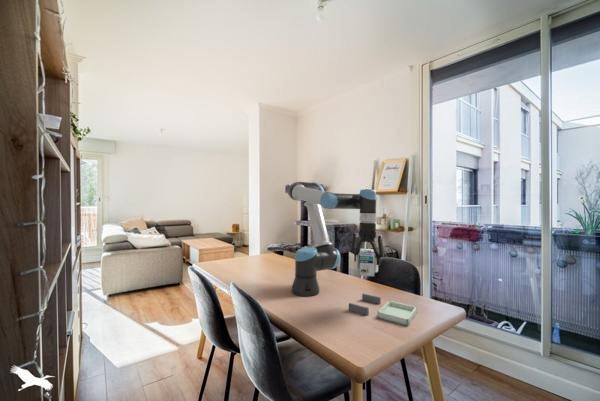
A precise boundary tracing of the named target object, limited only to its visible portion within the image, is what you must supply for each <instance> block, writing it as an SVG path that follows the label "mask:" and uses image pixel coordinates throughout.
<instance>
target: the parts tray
mask: <svg viewBox="0 0 600 401" xmlns="http://www.w3.org/2000/svg"><path fill="white" fill-rule="evenodd" d="M417 314H418V306H414V305H410V304H406V303H403V302H402V303H401V302H397V301H392V300H388V301H387V302H386V303H385V304H384V305H382V307H381V308H380V309H378V311H377V316H376V318H377V319H381V320H384V321H388V322H392V323H396V324H398V325H399V324H400V325H404V326H407V327H409V326H410V324H411V322H413V319H414V318H415V317H416V315H417Z"/></svg>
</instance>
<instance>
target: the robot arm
mask: <svg viewBox="0 0 600 401" xmlns="http://www.w3.org/2000/svg"><path fill="white" fill-rule="evenodd" d="M287 194H288V197H289V198H290V199H292V201H293V200H294V201H297V202H303V206H304V207H306V209H307V213H308V217H309V222H310V227H311V232H312V237H313V241H314V244H315V245H314V246H313V247H312V246H311V247H301V248H299V249H297V250H296V251H295V257H294V259H295V263H294V264H295V268H294V276H295V277H294V279H293V282H292V285H291V293H292V294H293V295H296V296H300V297H312V296H313V297H314V296H317V295H319V294H320V285H319V282H318V279H317V272H320V271H325V270H326V271H327V270H332V269H336V268H337V267H339V264H340V261H341V254H340V251H339V249H338V248H336V247H334V244H333V243H332V242H331V241H330V236H329V233H328V229H327V224H326V221H325V217H324V213H323V209H326V210H339V209H340V210H359V221H360V222H359V224H358V225H359V228H358V229H359V231H358V232H353V234H352V236H353V237H352V238H353V239H352V241H351V242H352V243H351V249H350V253H351V254H353V255H354V257H353V259H354V263H355V269H356V270H358V269H359V270H360V249H361V248H362V247H363V245H364V243H366V242H367V243H369V244H370V245H371V247H372V248H371V249H373V250H374V253H375V268H374V273H379V266H380V265H381V258H385V250H384V245H383V244H384V243H383V234H377V231H376V230H377V226H376V225H377V224H376V222H377V191H376V189H371V188H370V189H366V188H365V189H360V191H359V193H336V192H330V191H325V190H324V187H323V186H322V185H321V184H320V183H318V182H315V181H311V182H307V181H296V182H295V181H294V182H293V183H291V184H290V185H289V187H288V190H287ZM359 237H360V240H359V241H358V239H359ZM375 239H377V244H376V241H375ZM377 245H378V246H377Z"/></svg>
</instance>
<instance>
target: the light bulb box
mask: <svg viewBox="0 0 600 401" xmlns="http://www.w3.org/2000/svg"><path fill="white" fill-rule="evenodd" d="M359 255H360V268H359V276H365V277H375V258H376V255H375V252H374V250H373V248H362V247H361V249H360V251H359Z"/></svg>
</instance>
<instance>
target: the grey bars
mask: <svg viewBox="0 0 600 401" xmlns="http://www.w3.org/2000/svg"><path fill="white" fill-rule="evenodd" d="M361 295H362V296H361V299H362V301H365V302H369V303H373V304H378V305H380V304H381V302H382V301H381V300H382V297H381V296H376V295H373V294H372V295H371V294H367V293H362V294H361ZM381 305H382V304H381ZM369 310H370V307H367V306H365V305H364V306H363V305H359V304H356V303H351V302H349V303H348V311H350V312H354V313H358V314H361V315H364V316H365V315H366V316H369Z"/></svg>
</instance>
